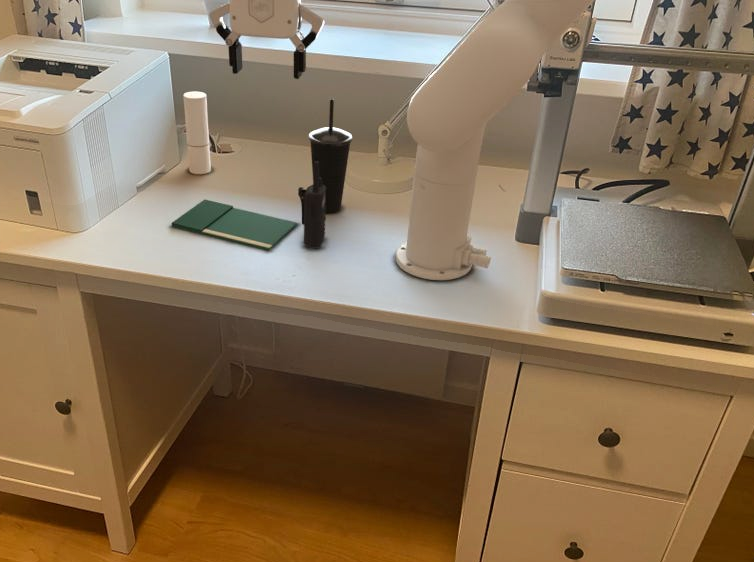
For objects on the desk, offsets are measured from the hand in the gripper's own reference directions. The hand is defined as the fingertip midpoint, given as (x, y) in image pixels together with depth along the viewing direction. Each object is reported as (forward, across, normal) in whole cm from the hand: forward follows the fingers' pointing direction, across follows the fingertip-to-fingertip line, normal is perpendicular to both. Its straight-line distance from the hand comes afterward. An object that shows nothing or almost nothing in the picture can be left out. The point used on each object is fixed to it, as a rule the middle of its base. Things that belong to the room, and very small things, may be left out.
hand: (267, 74), depth 117 cm
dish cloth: (+26, -6, 0) cm, 27 cm away
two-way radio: (+27, +8, -3) cm, 28 cm away
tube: (+26, -20, +22) cm, 40 cm away
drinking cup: (+27, +8, +11) cm, 30 cm away
